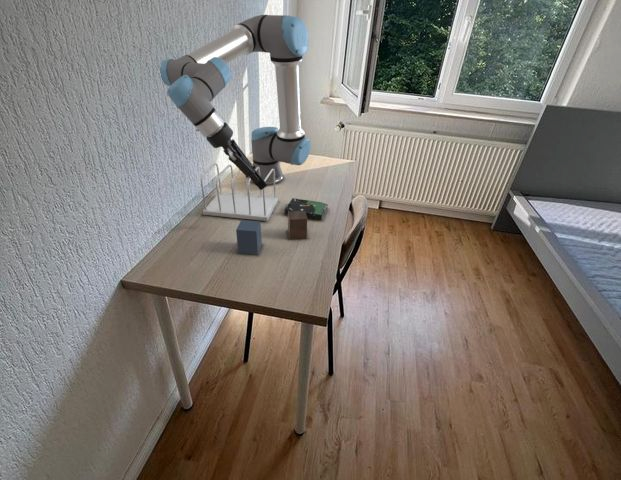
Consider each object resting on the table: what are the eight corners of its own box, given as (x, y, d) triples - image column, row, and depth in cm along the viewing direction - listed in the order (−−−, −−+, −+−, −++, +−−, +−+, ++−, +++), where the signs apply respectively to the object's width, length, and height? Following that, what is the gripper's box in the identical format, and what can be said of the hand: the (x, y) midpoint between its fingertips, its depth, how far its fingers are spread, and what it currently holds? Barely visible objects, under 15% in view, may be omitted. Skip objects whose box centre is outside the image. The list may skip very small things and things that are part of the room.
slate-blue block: (243, 243, 117) (241, 220, 112) (261, 244, 117) (260, 221, 112) (238, 253, 112) (236, 229, 107) (257, 255, 112) (256, 231, 107)
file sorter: (278, 201, 143) (277, 165, 135) (267, 222, 129) (266, 183, 120) (219, 195, 146) (215, 159, 137) (203, 215, 132) (197, 177, 123)
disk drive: (284, 215, 134) (322, 221, 131) (284, 209, 132) (322, 214, 129) (292, 203, 142) (327, 208, 139) (292, 197, 141) (327, 202, 138)
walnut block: (288, 231, 124) (288, 211, 120) (304, 230, 125) (305, 210, 121) (289, 239, 120) (289, 219, 115) (306, 238, 121) (307, 218, 116)
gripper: (205, 129, 106) (252, 184, 120) (204, 145, 96) (256, 203, 110) (224, 115, 105) (270, 172, 119) (226, 129, 95) (275, 189, 109)
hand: (263, 187), depth 114 cm, fingers closed
